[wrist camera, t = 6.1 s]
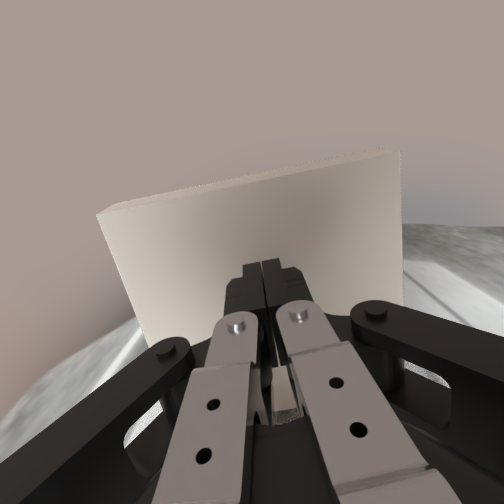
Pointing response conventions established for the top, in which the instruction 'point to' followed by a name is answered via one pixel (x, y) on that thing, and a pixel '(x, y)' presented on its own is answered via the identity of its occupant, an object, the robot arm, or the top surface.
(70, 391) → the top surface
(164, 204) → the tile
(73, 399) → the top surface
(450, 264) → the top surface
